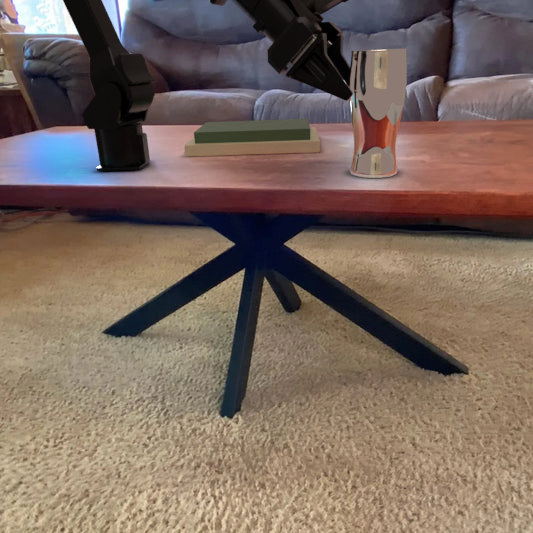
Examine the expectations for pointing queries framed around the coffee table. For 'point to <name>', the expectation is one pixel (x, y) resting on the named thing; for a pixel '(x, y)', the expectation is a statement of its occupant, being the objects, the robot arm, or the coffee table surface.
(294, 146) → the book stack
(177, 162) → the coffee table surface
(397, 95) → the beer glass
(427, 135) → the coffee table surface
